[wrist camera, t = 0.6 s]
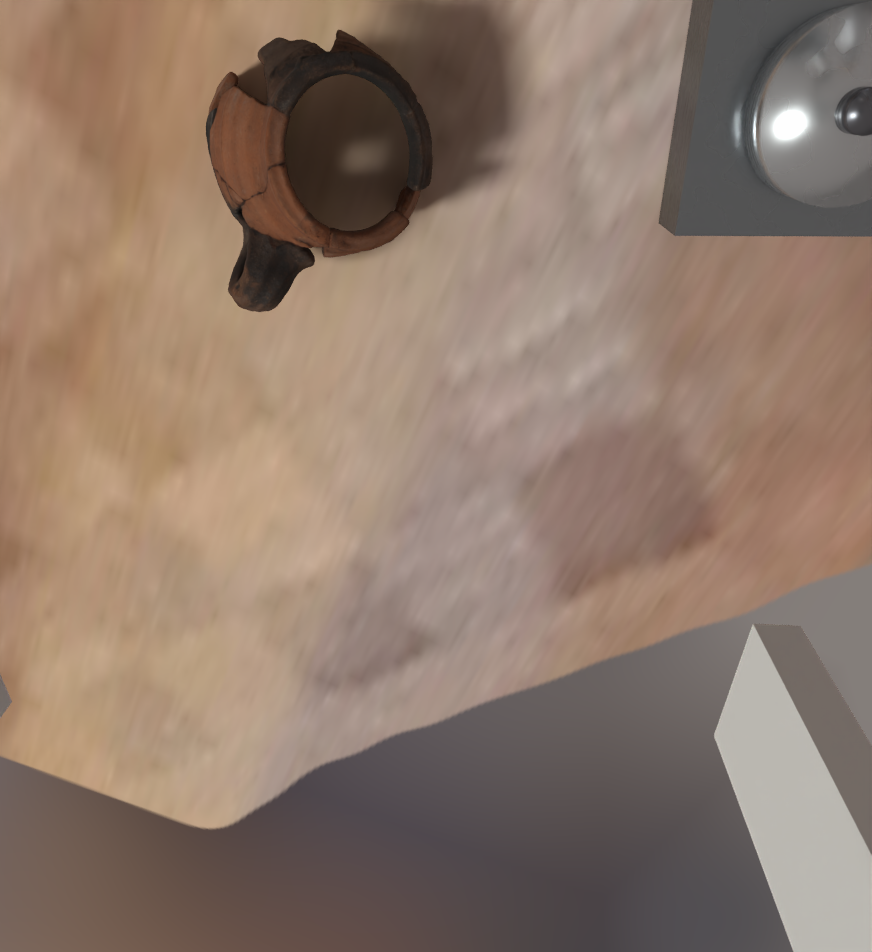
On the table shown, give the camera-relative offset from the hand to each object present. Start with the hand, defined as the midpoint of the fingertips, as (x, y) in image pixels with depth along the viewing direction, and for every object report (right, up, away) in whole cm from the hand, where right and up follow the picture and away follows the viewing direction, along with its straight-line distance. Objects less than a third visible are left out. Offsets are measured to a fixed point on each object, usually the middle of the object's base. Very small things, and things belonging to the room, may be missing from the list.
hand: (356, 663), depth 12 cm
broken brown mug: (-5, +18, +21) cm, 28 cm away
